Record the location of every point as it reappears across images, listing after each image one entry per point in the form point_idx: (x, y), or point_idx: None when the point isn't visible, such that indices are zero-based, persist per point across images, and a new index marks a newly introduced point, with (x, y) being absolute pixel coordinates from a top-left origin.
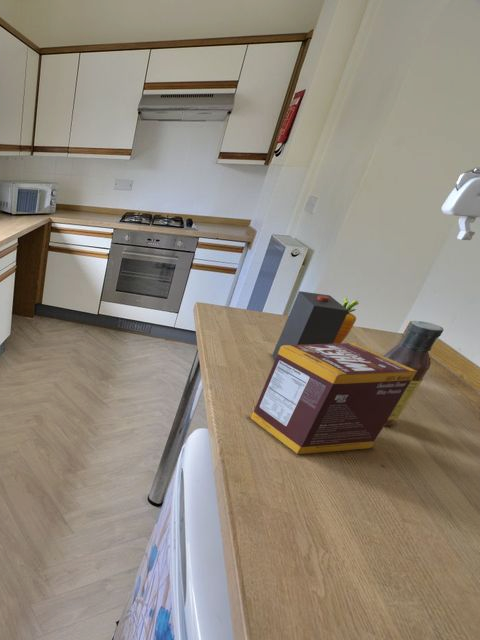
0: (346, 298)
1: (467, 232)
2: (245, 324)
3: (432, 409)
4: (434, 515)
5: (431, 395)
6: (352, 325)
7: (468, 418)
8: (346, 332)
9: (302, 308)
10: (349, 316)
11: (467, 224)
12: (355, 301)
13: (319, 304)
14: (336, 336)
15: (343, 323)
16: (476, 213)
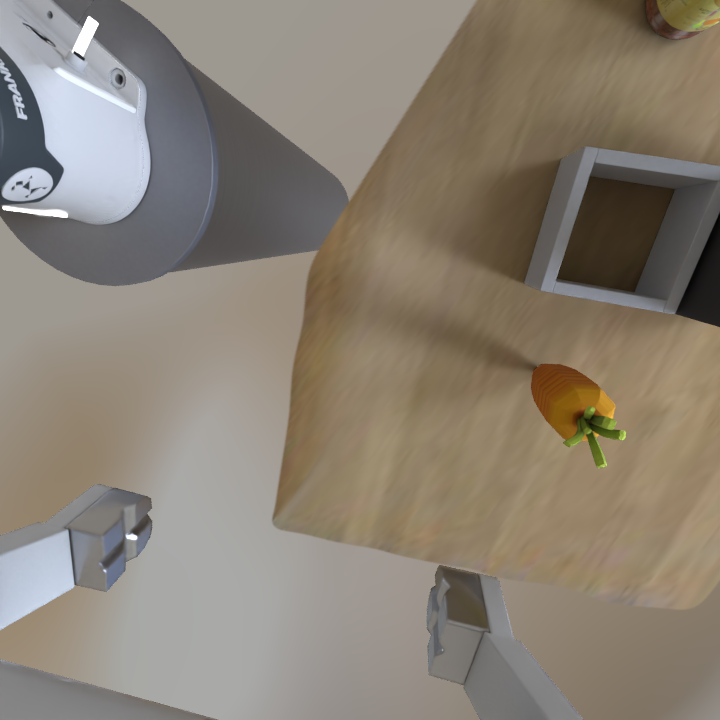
0: (601, 463)
1: (500, 623)
2: (648, 504)
3: (479, 113)
4: None
5: (426, 198)
6: (549, 389)
7: (422, 93)
8: (558, 372)
9: None
10: (587, 396)
11: (560, 713)
12: (613, 422)
13: None
14: (571, 369)
15: (591, 381)
16: None
